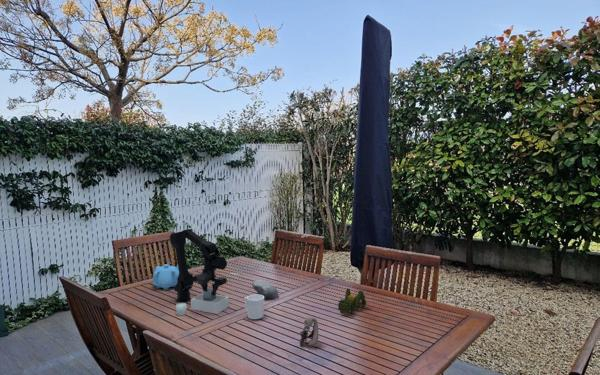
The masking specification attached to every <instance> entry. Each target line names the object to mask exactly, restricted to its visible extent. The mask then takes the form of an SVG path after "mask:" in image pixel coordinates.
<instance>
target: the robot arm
mask: <svg viewBox="0 0 600 375" xmlns="http://www.w3.org/2000/svg"><path fill="white" fill-rule="evenodd" d="M169 240H170V243H171V245H172V247H173V248H174V250H175V256H176V262H177V264H178V269H179V276H178V278H177V284H176V286H175V287H173V290H174V292H176V298H177V299H176V300H175V302H178V303H186V302H189V301H191V299H192V297H191V292H190V290H191V289H193V285H194V283H197V284H198V285H200V286H201V288H202V292H203V291H204V290H206V289H208V285H209V282H212V284H211V288H212V289H213V296H215V294H216V295H217V291H218V289H219V287H220V286H223V285H225V284H227V282H228V280H227V278H226V277H225V276H224V277H223V276H219V277H217V274H216V270H217V269H218V270H222V271H223V270H225V269H226V268H227V265H228V262H227V259H225V256H224V255H221V253H220V251H219V249H218V247H217V244H216V243H214V242H212V241H210V240H207V239H204V238H203V237H201V236H200V235H198V234H197V233H196V232H194V231H193V229H192V228H191V229H190V228H187V229H183V230H182V231H176V232H173V233H171V234H170V236H169ZM187 240H189V241H190V242H191V243H192V244H194V245H195V246H196V247H197V248H198V249H199V251H200V253H202V255H201V256H200V258H201V259H203V269H202V270H201V273H197V274H195V275H193V273H190V272H189V268H188V262H187V257H186V250H185V246H186V242H187Z"/></svg>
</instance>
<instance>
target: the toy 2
mask: <svg viewBox="0 0 600 375" xmlns="http://www.w3.org/2000/svg"><path fill="white" fill-rule="evenodd" d="M360 302H361V304H360ZM337 304H338V306H337V307H338V308H337V309H338V311H339V312H340V313H341V312H342V313H341V314H343V313H348V312H349V315H350V314H351V315H350V316H353V315H352V314H354V311H355V308H356V307H357V308H358V307H359V305H360V309H362V308H364V307H365V308H366V305H367V300H366V295H364V291H362V290H359V291H358V293H357V295H354V294H352V293H351V289H350V288H346V290H345V296H344V299H343V298H342V299H340V300H338V303H337ZM365 308H364V309H365Z"/></svg>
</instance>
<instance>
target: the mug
mask: <svg viewBox="0 0 600 375" xmlns="http://www.w3.org/2000/svg"><path fill="white" fill-rule="evenodd" d="M243 301H244V302H243V303H244V305H245V308H246V310H247V319H248V320H251V321H259V320H262V319H264V312H265V310H264V309H265V306H264V305H265V304H264V303H265V298H264V296H263V295H258V293H257V294H250V295H247V296H245V297H244V299H243Z"/></svg>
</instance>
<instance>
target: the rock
mask: <svg viewBox="0 0 600 375" xmlns="http://www.w3.org/2000/svg"><path fill="white" fill-rule="evenodd" d="M251 284H252V288H253V289H254V290H255V291H256V292H257V294H258V295H263V296H264V299H269V300H272V299H274V298H276V297H278V296H279V292H278V289H277V287H276V286H274V285H273V284H271V283H269V281H268V280H264V279H257V280H255V281H253V282H252V283H251Z"/></svg>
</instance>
